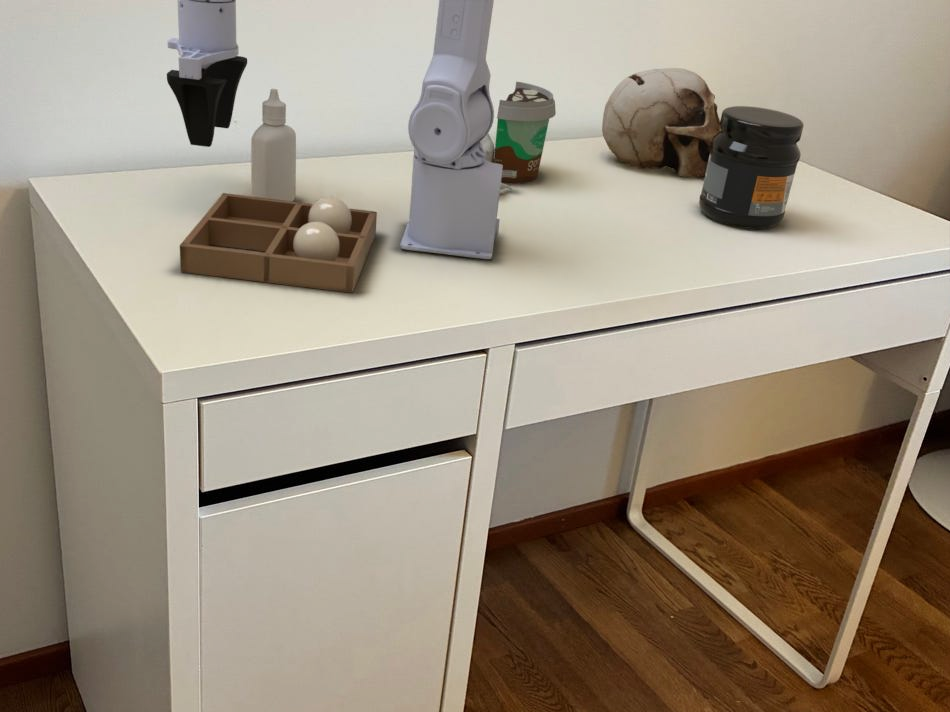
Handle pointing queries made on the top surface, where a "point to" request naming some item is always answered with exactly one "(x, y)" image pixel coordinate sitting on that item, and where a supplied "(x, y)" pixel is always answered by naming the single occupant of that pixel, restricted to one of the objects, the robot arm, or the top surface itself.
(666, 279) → the top surface
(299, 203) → the wooden compartment tray
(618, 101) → the coin bank
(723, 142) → the supplement container
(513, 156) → the food container
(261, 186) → the eye dropper bottle
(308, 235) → the egg near right
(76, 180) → the top surface
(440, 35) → the robot arm
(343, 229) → the egg near left
